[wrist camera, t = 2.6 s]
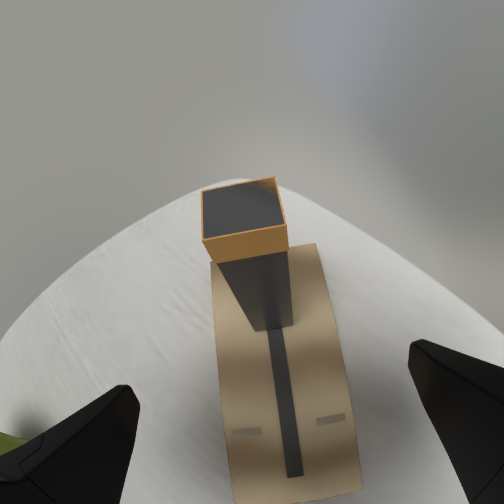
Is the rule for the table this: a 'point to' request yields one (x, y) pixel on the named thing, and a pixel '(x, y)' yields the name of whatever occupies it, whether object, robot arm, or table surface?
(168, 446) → the table surface
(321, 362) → the fader track
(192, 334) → the table surface
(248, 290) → the fader tab
